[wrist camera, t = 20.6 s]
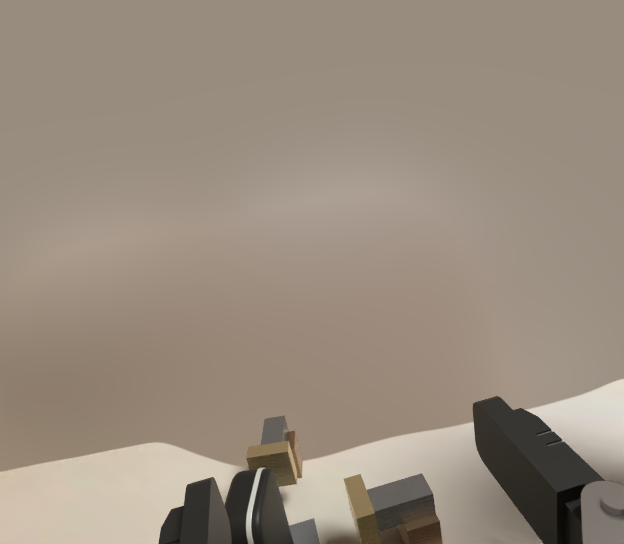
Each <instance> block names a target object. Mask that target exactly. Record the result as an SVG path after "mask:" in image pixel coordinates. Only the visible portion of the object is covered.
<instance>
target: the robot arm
mask: <svg viewBox="0 0 624 544" xmlns="http://www.w3.org/2000/svg"><path fill="white" fill-rule="evenodd" d="M473 417H474V430H475V441H476V446H477V450H478V452H479V455H480V457H481V459H482V461H483V462H484V464H485V465H486V467H487V468H488V469H489V471H490V472H491V473H492V475H493V476H494V477H495V479H496V480H497V481H498V483H499V484H500V485H501V487H502V488H503V489H504V491H505V492H506V493H507V495H508V496H509V498H510V499H511V500H512V502H513V503H514V504H515V506H516V507H517V508H518V510H519V511H520V512H521V514H522V515H523V516H524V518H525V519H526V520H527V522H528V523H529V524H530V526H531V527H532V528H533V530H534V531H535V532H536V534H537V535H538V536H539V538H540V539H541V540H542V542H543V543H544V544H624V485H621V484H619V483H615V482H610V481H605V480H604V479H603V478H602V477H601V476H600V475H598V474H597V473H596V472H595V471H594V470H593V469H592V468H591V467H590V466H589V465H588V464H587V463H586V462H585V461H584V460H583V459H582V458H581V457H580V456H579V455H578V454H577V453H575V452H574V451H573V450H572V449H571V448H570V447H569V446H568V445H567V444H566V443H565V442H562V439H561V438H560V437H559V436H558V435H557V434H556V433H555V432H552V431H551V429H550V428H549V427H548V426H547V425H546V424H545V423H544V422H543V421H542V420H541V419H540V418H539V417H538V416H536V415H534V414H532V413H530V412H528V411H526V410H524V409H522V408H519V409H516V410H512V409H511V408H510V407H509V406H508V405H507V404H506V403H505V402H504V401H503V400H502V399H501V398H500V397H498V396H496V397H493V398H489V399H485V400H482V401H478V402H475V403H474V404H473ZM159 544H232V539H231V528H230V522H229V518H228V515H227V512H226V509H225V506H224V503H223V500H222V498H221V495H220V492H219V489H218V486H217V483H216V481H215V479H214V478H213V477H212V478H208V479H205V480H201V481H198V482H194V483H191V484H188V485H187V487H186V493H185V502H184V506H181V507H178V508H174V509H171V511H170V513H169V515H168V516H167V518H166V520H165V522H164V524H163V525H162V527H161V532H160V538H159Z"/></svg>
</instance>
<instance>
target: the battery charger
mask: <svg viewBox="0 0 624 544" xmlns="http://www.w3.org/2000/svg"><path fill="white" fill-rule="evenodd" d="M225 509H226V512H227V515H228V518H229V522H230V528H231V539H232V544H294V542H293V539H292V535H291V532H290V528H289V525H288V521H287V517H286V513H285V510H284V506H283V502H282V499H281V495H280V492H279V488H278V485H277V482H276V479H275V476H274V473H273V471H272V470H271V469H265V468H259V469H258V470H248V471H242V472H239V473H237V474H236V475H235V477H234V478H233V480H232V482H231V486H230V489H229V492H228V495H227V499H226V502H225Z"/></svg>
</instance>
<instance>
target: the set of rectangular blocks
mask: <svg viewBox="0 0 624 544" xmlns="http://www.w3.org/2000/svg"><path fill="white" fill-rule="evenodd" d="M246 459H247V462H248V465H249V468H250V470H258V469H259V468H265V469H271V470H272V471H273V473H274V476H275V479H276V482H277V485H278V487H280V486H286V485H293V484H297V478H301V477H302V455H301V451H300V447H299V443H298V440H297V436H296V432H295V431H291V432H289V431H288V427H287V423H286V420H285V416H280V417H274V418H267V419H265V421H264V428H263V434H262V441H261V445H259V446H252V447H248V452H247V458H246ZM344 482H345V487H346V491H347V496H348V500H349V505H350V509H351V514H352V517H353V520H354V523H355V527H356V530H357V533H358V536H359V539H360V543H361V544H381V542H380V537H379V531H382V530H385V529H388V528H391V527H395V526H397V528H398V531H399V533H400V536H401V538H402V540H403V543H404V544H442V536H441V529H440V521H439V519H438V517H437V515H436V513H435V505H434V498H433V493H432V491H431V489H430V487H429V485H428V484H427V482H426V480H425V478H424V476H423V475H422V474H418V475H415V476H412V477H408V478H405V479H402V480H398V481H395V482H392V483H388V484H385V485H382V486H378V487H375V488H372V489H368V490H366V488H365V485H364V482H363V480H362V477H361V474H359V475H356V476H352V477H349V478H345V479H344Z"/></svg>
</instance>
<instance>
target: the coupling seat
mask: <svg viewBox="0 0 624 544" xmlns="http://www.w3.org/2000/svg"><path fill="white" fill-rule="evenodd" d="M289 528H290V532H291V535H292V539H293V542H294V544H319V539H318V535H317V530H316V525H315V521H314V519H310V520H307V521H304V522H300V523H297V524H294V525H291V526H289Z"/></svg>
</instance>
